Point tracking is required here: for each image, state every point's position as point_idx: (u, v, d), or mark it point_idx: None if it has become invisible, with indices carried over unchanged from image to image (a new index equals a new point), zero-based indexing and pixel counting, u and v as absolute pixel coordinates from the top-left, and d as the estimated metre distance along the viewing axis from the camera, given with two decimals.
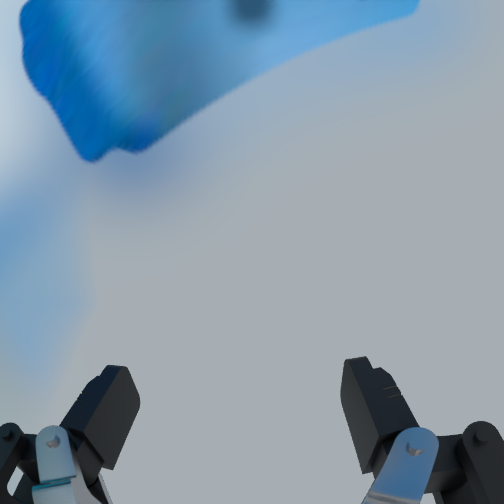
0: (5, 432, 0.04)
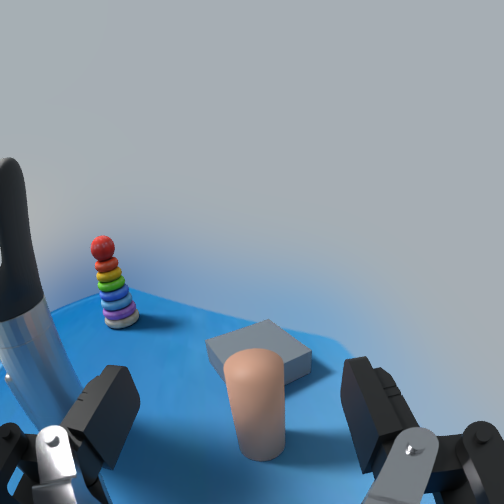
0: (5, 432, 0.04)
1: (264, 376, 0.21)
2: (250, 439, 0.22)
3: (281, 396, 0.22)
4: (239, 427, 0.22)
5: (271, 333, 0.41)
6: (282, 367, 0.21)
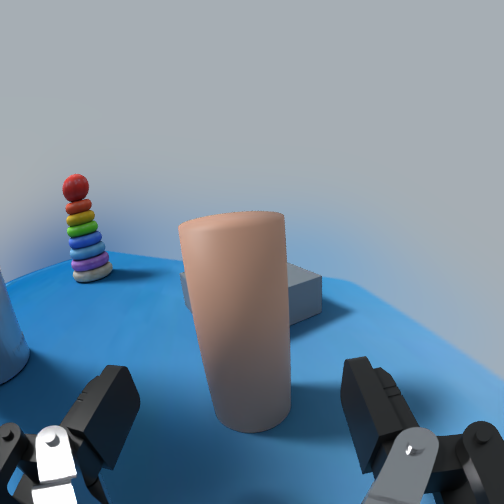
0: (5, 432, 0.04)
1: (249, 223, 0.12)
2: (227, 381, 0.13)
3: (282, 280, 0.13)
4: (208, 356, 0.13)
5: None
6: (281, 217, 0.13)
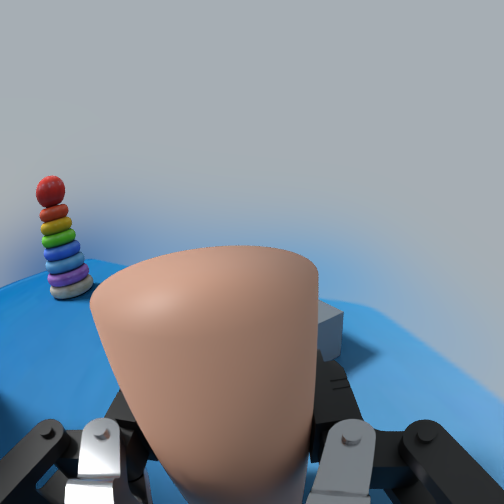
0: (45, 430, 0.05)
1: (237, 303, 0.05)
2: None
3: (308, 401, 0.06)
4: (176, 485, 0.06)
5: None
6: (314, 276, 0.06)
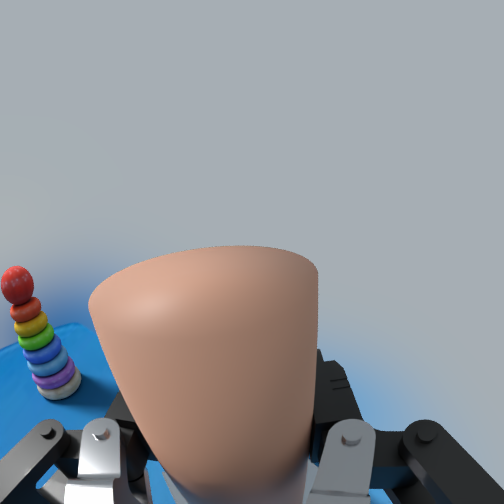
0: (45, 430, 0.05)
1: (236, 304, 0.05)
2: None
3: (308, 402, 0.06)
4: (176, 487, 0.06)
5: None
6: (313, 277, 0.06)
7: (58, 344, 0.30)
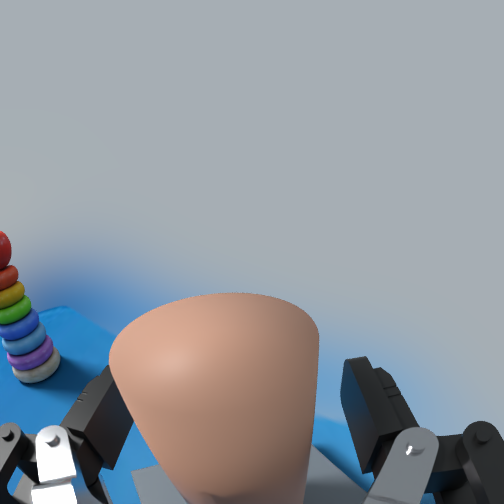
0: (5, 432, 0.04)
1: (246, 375, 0.05)
2: None
3: (307, 440, 0.06)
4: None
5: None
6: (315, 341, 0.06)
7: (34, 319, 0.25)
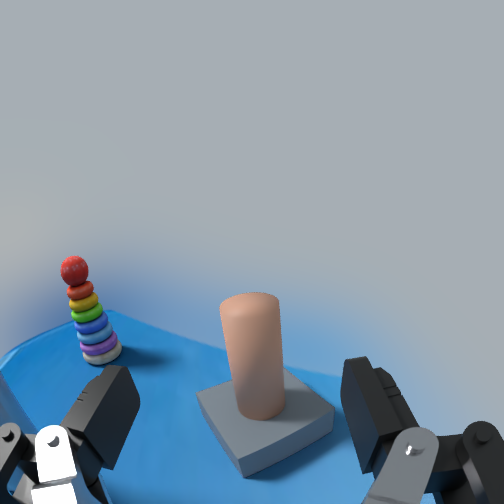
0: (5, 433, 0.04)
1: (259, 311, 0.22)
2: (247, 390, 0.23)
3: (278, 337, 0.23)
4: (237, 377, 0.23)
5: None
6: (277, 304, 0.23)
7: (106, 318, 0.43)
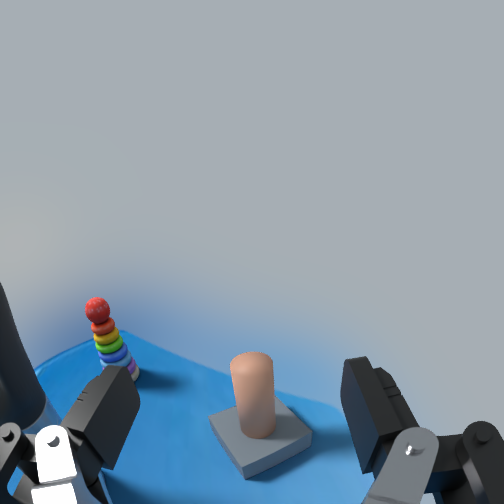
0: (5, 432, 0.04)
1: (259, 371, 0.30)
2: (249, 419, 0.31)
3: (271, 386, 0.31)
4: (241, 410, 0.31)
5: None
6: (271, 365, 0.31)
7: (126, 348, 0.50)
